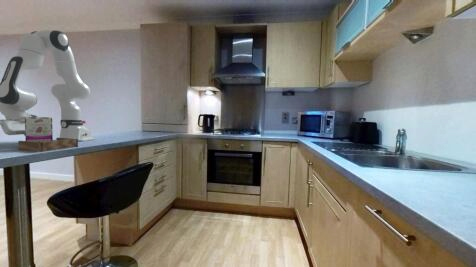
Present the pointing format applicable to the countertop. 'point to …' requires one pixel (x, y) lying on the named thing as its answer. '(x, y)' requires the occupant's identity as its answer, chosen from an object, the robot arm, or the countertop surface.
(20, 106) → the robot arm
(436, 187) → the countertop surface
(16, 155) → the countertop surface
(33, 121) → the candy bar box
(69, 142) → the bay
